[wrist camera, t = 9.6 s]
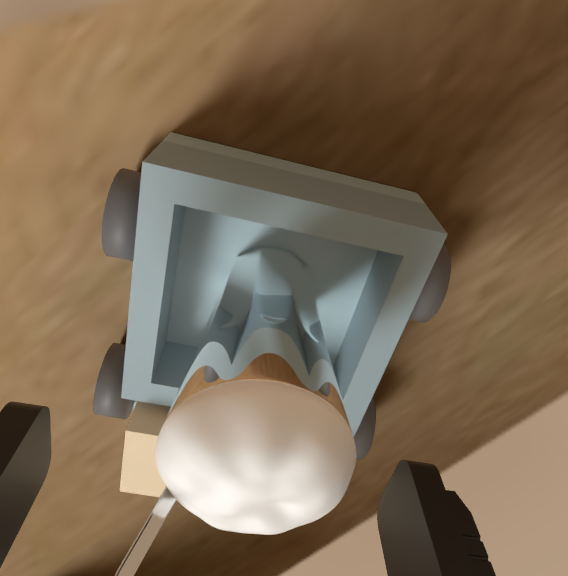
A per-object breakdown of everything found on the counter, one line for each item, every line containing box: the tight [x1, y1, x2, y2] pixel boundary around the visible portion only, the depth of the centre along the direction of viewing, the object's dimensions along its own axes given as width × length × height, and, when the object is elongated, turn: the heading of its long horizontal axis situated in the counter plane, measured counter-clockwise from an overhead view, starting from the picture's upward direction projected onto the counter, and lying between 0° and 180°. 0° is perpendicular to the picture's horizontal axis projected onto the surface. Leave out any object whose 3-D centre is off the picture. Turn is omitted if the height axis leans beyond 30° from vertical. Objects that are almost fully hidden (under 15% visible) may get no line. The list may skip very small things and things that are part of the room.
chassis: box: [93, 132, 451, 497], centre depth 18 cm, size 13×11×5 cm
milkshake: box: [114, 246, 356, 576], centre depth 13 cm, size 4×5×10 cm
